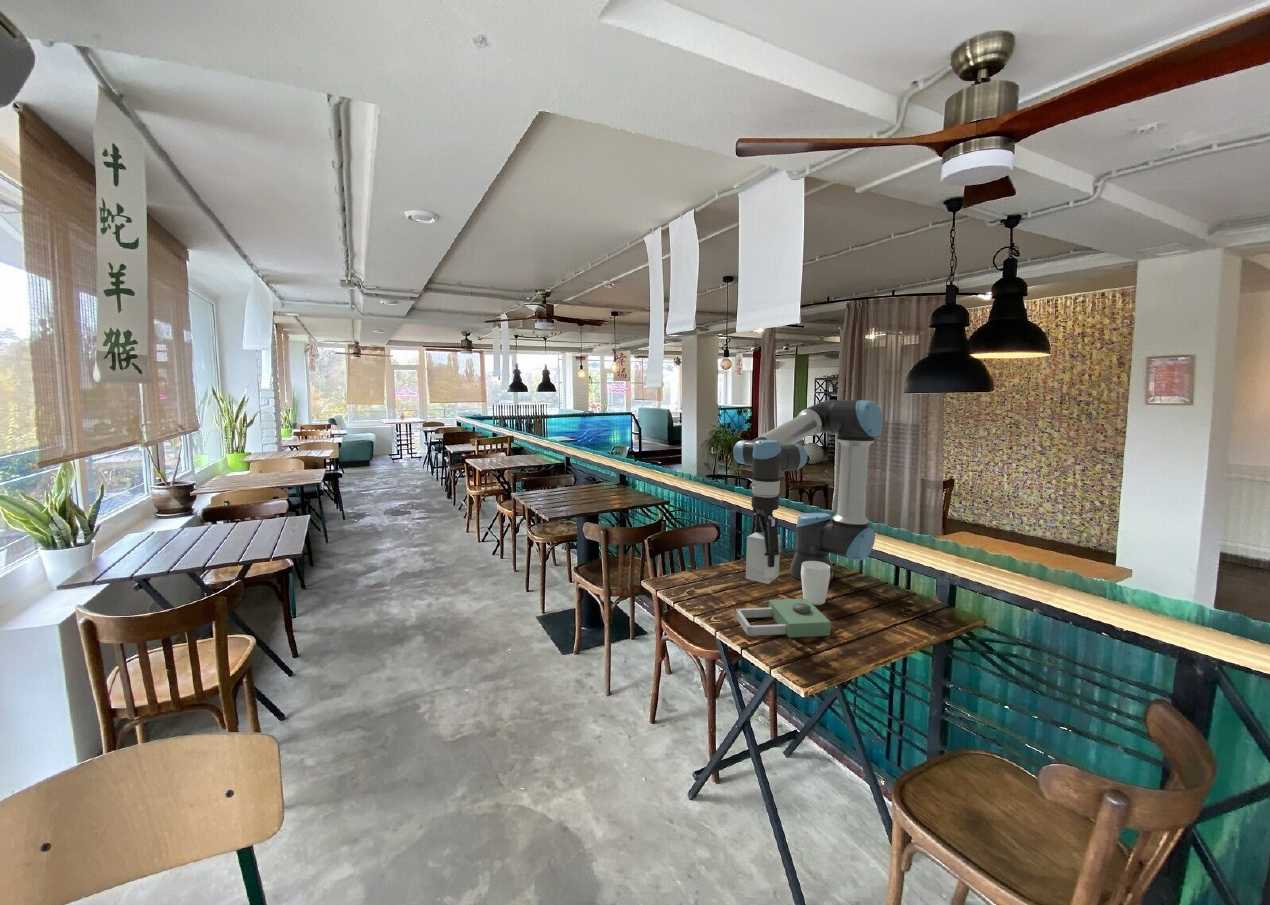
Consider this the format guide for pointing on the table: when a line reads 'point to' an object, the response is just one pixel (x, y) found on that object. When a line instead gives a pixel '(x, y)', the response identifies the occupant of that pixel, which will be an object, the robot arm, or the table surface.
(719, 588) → the table surface
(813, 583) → the cup
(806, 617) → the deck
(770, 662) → the table surface
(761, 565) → the supplement box
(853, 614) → the table surface
